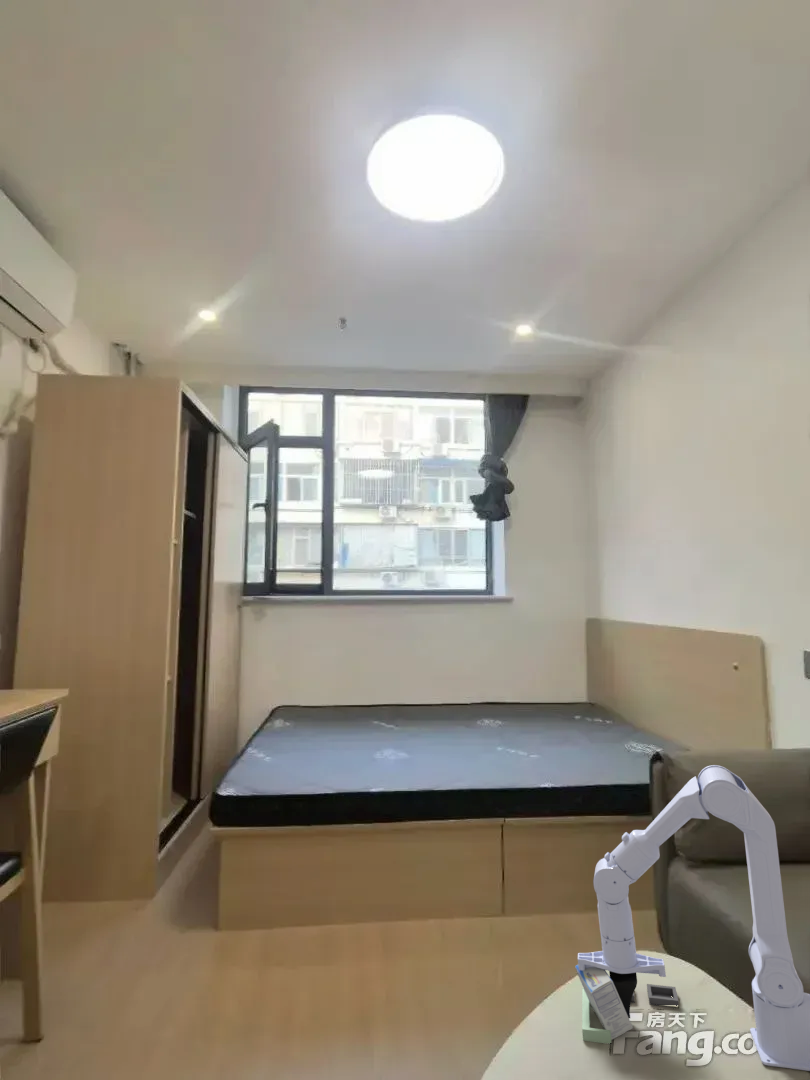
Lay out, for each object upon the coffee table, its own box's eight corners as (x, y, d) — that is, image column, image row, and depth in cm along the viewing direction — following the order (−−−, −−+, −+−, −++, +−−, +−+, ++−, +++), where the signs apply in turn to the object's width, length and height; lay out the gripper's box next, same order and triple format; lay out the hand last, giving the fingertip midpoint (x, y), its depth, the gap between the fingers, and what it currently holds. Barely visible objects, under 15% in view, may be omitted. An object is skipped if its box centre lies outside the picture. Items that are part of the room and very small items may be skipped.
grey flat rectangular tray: (675, 993, 115) (675, 986, 115) (679, 1007, 111) (678, 1000, 111) (647, 990, 116) (646, 983, 116) (649, 1004, 112) (648, 997, 113)
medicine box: (634, 1029, 104) (613, 980, 105) (610, 1041, 104) (590, 992, 104) (614, 999, 112) (595, 953, 113) (592, 1010, 112) (573, 965, 112)
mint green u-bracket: (608, 1001, 114) (608, 990, 114) (611, 1044, 103) (610, 1032, 103) (583, 998, 115) (582, 987, 115) (583, 1040, 104) (582, 1029, 105)
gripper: (658, 923, 111) (667, 1003, 110) (575, 918, 115) (583, 996, 114) (662, 945, 105) (673, 1030, 103) (574, 939, 108) (583, 1021, 107)
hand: (626, 1014), depth 108 cm, fingers closed, pressing on medicine box
